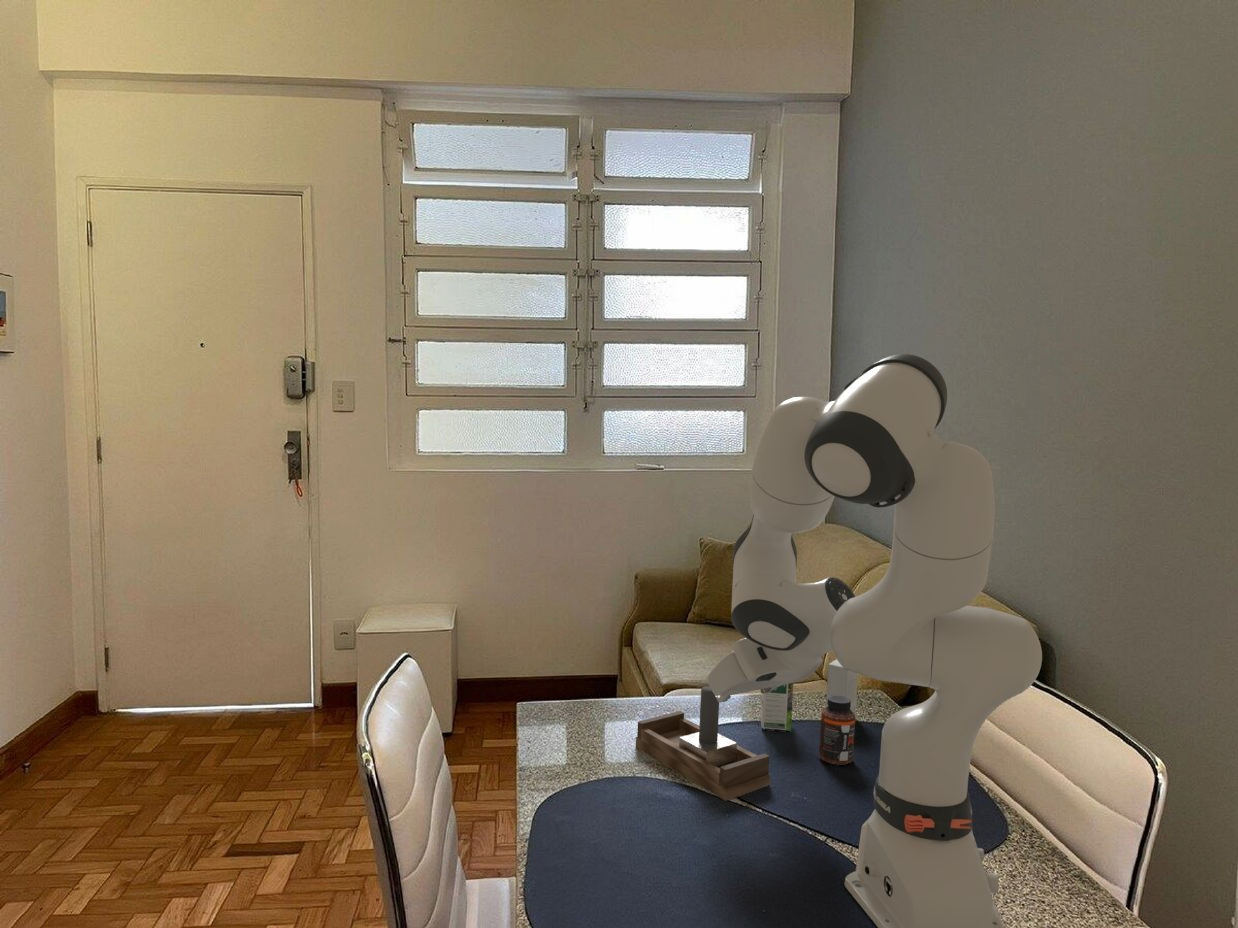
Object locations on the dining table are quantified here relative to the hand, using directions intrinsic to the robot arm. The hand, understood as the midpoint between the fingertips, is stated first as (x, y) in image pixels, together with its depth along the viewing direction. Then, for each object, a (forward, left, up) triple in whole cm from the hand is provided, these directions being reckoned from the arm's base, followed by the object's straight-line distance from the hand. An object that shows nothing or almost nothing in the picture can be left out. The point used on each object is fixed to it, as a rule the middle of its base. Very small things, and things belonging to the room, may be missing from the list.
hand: (741, 693), depth 144 cm
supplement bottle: (+9, -19, -15) cm, 26 cm away
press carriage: (+4, +5, -13) cm, 14 cm away
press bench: (+5, +6, -15) cm, 17 cm away
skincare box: (+28, -25, -15) cm, 41 cm away
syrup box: (+24, -11, -15) cm, 31 cm away
